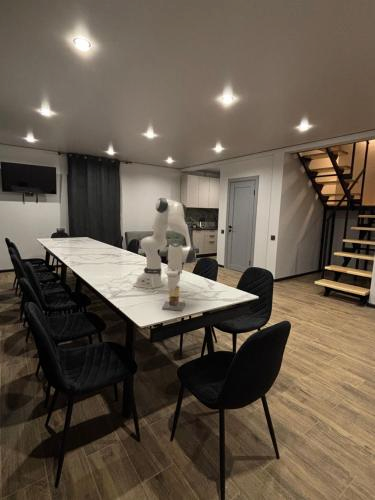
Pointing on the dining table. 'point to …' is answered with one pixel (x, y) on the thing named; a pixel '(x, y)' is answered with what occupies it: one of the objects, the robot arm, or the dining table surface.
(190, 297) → the dining table surface
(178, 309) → the plate
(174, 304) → the block
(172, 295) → the block
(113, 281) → the dining table surface
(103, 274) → the dining table surface
